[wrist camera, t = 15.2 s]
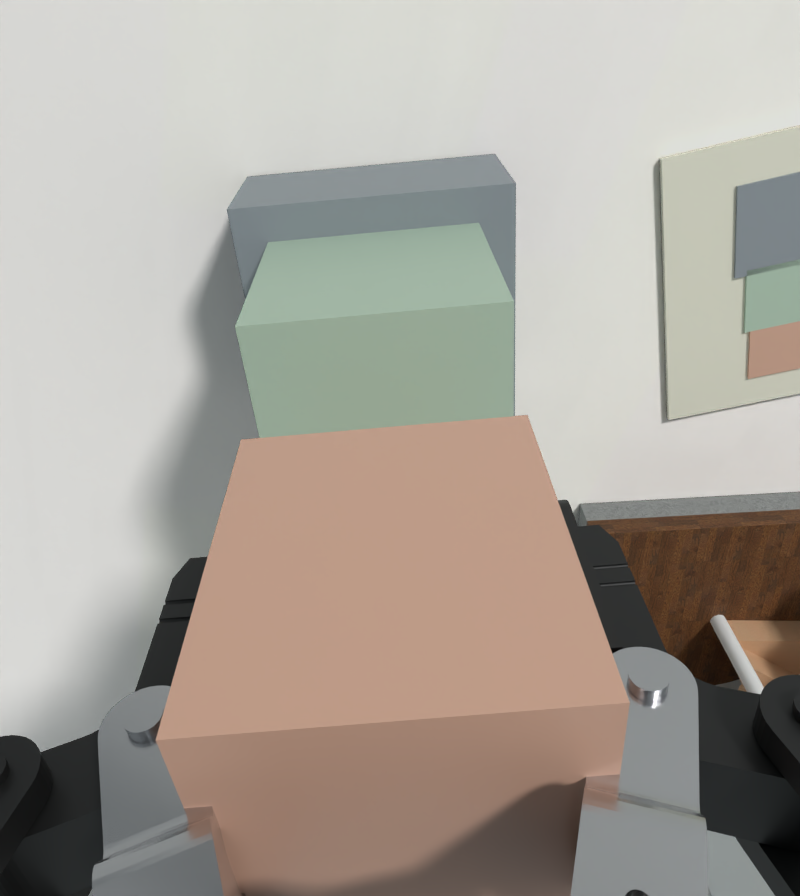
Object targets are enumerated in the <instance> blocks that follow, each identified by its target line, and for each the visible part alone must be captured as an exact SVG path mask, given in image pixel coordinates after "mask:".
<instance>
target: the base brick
mask: <svg viewBox="0 0 800 896" xmlns="http://www.w3.org/2000/svg"><path fill="white" fill-rule="evenodd" d="M227 213H228V218H229V223H230V227H231V232H232V237H233V242H234V247H235V252H236V257H237V262H238V266H239V271H240V276H241V281H242V286H243V291H244V296H245V300H246V297H247V295H248V292H249V289H250V287H251V284H252V282H253V279H254V277H255V274H256V272H257V269H258V266H259V264H260V261H261V259H262V256H263V254H264V251H265V248H266V246H267V243H268V242H276V241H287V240H298V239H309V238H319V237H330V236H341V235H352V234H363V233H373V232H384V231H395V230H406V229H417V228H427V227H438V226H449V225H460V224H470V223H479V224H480V226H481V228H482V231H483V233H484V235H485V237H486V240H487V242H488V244H489V246H490V249H491V251H492V253H493V255H494V258H495V260H496V262H497V264H498V267H499V269H500V271H501V273H502V276H503V278H504V280H505V282H506V285H507V287H508V289H509V291H510V294H511V296H512V298H513V300H514V416H515V237H516V183H515V181H514V180H513V179H512V177H511V176H510V174H509V173H508V172H507V170H506V169H505V167H504V166H503V165H502V163H501V162H500V160H499V159H498V157H497V156H496V155H495V154H489V155H478V156H467V157H456V158H445V159H434V160H424V161H413V162H402V163H391V164H380V165H369V166H358V167H347V168H337V169H326V170H315V171H304V172H293V173H282V174H271V175H260V176H250V177H247V178H246V180H245V181H244V183H243V184H242V186H241V188H240V189H239V191H238V192H237V194H236V196H235V197H234V199H233V200H232V202H231V204H230V205H229V207H228V208H227Z"/></svg>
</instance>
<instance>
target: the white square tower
mask: <svg viewBox="0 0 800 896" xmlns="http://www.w3.org/2000/svg"><path fill="white" fill-rule="evenodd" d="M590 525H600V526H601V527H602V528H603V529H604V530H605V531H606V532H608V533H609V534H610V535H611V536H612V537H613V538H614V539H615V540H617V541H618V542H619V545H620V547H621V549H622V551H623V554H624V556H625V558H626V561H627V563H628V568H629V567H630V570H631V572H632V574H633V576H634V579H635V584H636V585H637V586H638V588H639V590H640V592H641V595H642V597H643V599H644V602H645V604H646V606H647V608H648V611H649V613H650V615H651V617H652V620H653V622H654V624H655V627H656V629H657V631H658V633H659V636H660V638H661V640H662V642H663V645H664V647H665V649H666V651H667V653H668V654H670V655H671V656H673V657H675V658H676V659H678V660H679V661H681V662H682V663H683V664H684V665H685V666H686V667H687V668H688V669H689V671H690V672H691V673H692V675H693V676H694V677H695V678H697V679H699V680H702V681H704V682H706V683H709V684H712V685H716V686H720V687H724V688H729V689H735V690H740V691H745V692H751V693H756V694H761V692H762V690H763V688H764V687H765V686H766V685H767V684H768V683H769V682H770V681H772V680H773V679H776V678H778V677H781V676H786V675H800V492H788V493H770V494H751V495H733V496H715V497H697V498H679V499H661V500H642V501H624V502H606V503H588V504H580V510H579V519H578V526H590ZM707 850H708V896H775V895H774V893H773V892H772V890H771V889H770V888H769V886H768V885H767V883H766V882H765V880H764V879H763V877H762V876H761V874H760V873H759V872H758V870H757V869H756V867H755V866H754V864H753V863H752V861H751V860H750V858H749V857H748V856H747V854H746V853H745V851H744V850H743V848H742V847H741V845H740V844H739V842H738V841H737V839H736V838H735V837H733V836H729V835H725V834H721V833H717V832H713V831H709V830H707Z"/></svg>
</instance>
